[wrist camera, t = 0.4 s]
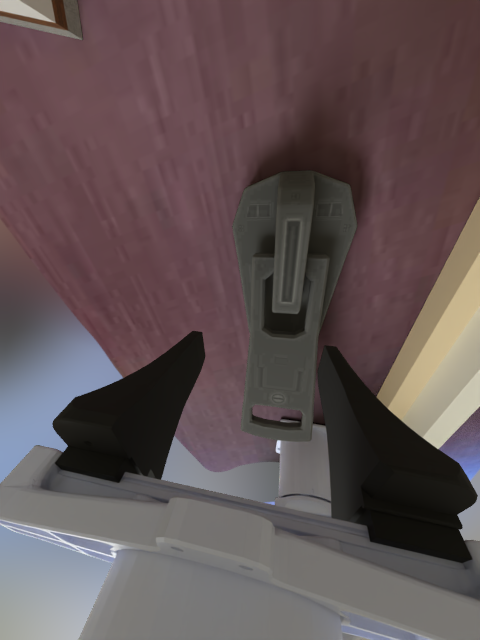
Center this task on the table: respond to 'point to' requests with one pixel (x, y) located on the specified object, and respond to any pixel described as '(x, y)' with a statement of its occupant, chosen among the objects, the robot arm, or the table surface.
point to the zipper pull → (289, 289)
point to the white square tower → (43, 15)
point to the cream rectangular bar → (442, 349)
